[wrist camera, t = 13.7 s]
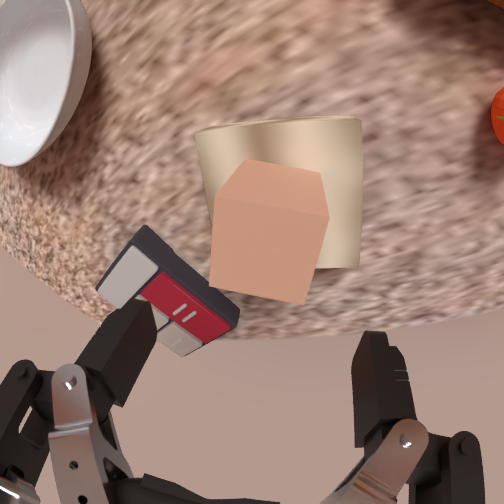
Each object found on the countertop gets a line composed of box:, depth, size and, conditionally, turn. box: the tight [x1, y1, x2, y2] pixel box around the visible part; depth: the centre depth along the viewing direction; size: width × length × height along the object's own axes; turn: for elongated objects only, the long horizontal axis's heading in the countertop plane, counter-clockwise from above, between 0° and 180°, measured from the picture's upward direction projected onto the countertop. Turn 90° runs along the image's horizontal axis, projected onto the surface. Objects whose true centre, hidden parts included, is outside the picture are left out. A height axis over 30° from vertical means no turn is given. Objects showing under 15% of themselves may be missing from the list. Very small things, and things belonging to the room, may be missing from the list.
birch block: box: [195, 116, 363, 268], centre depth 24 cm, size 12×12×5 cm
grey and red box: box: [95, 225, 240, 357], centre depth 33 cm, size 11×4×15 cm
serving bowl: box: [0, 0, 92, 167], centre depth 19 cm, size 21×21×7 cm
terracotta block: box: [209, 159, 330, 305], centre depth 18 cm, size 6×6×8 cm
